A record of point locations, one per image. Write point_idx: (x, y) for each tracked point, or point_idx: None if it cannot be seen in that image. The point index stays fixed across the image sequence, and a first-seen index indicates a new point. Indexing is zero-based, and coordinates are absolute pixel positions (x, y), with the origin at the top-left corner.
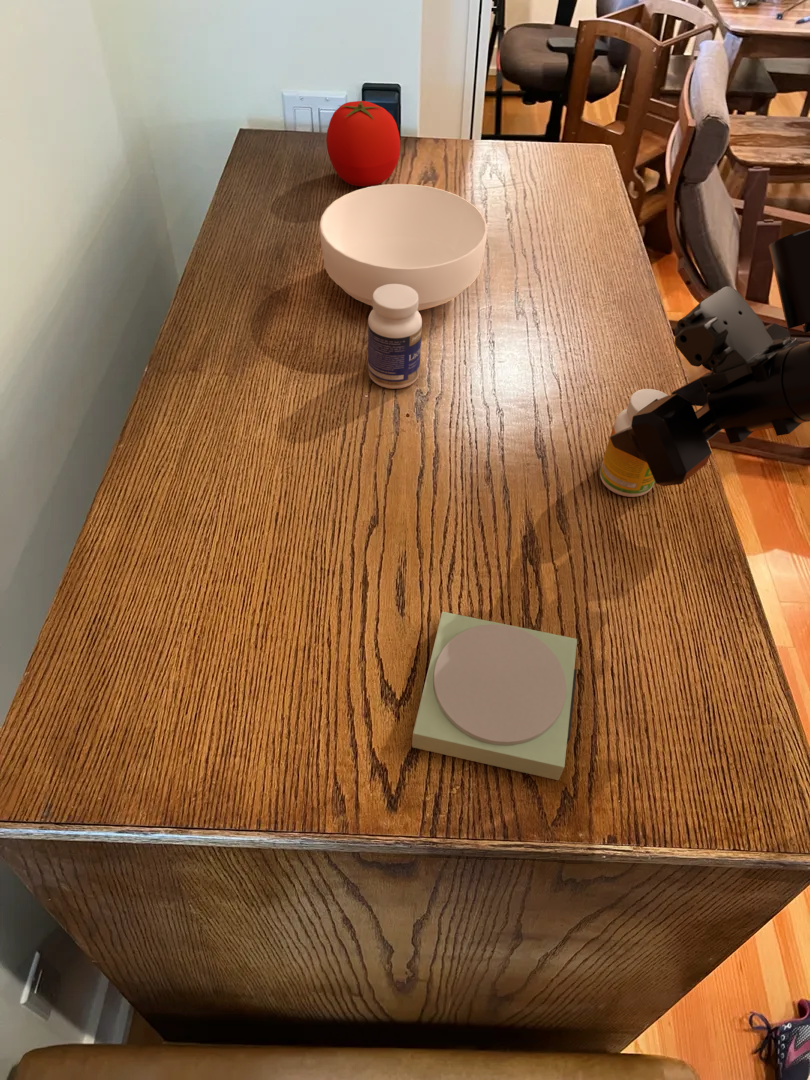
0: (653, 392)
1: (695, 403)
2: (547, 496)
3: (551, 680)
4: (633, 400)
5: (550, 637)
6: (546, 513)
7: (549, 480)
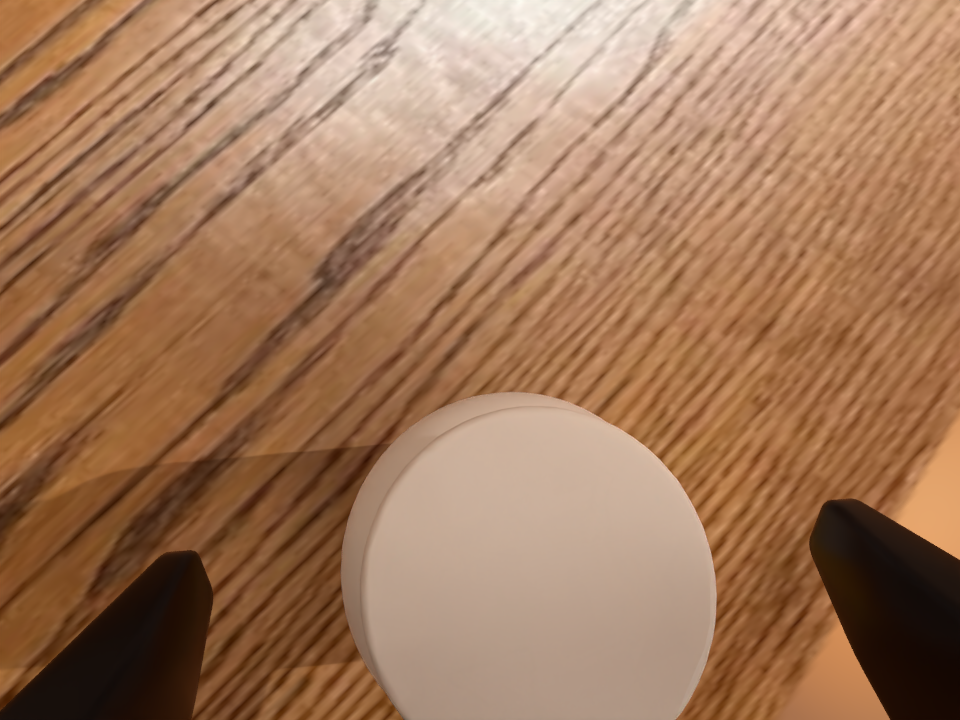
0: (638, 500)
1: (891, 698)
2: (193, 424)
3: None
4: (431, 470)
5: None
6: (124, 481)
7: (261, 373)
